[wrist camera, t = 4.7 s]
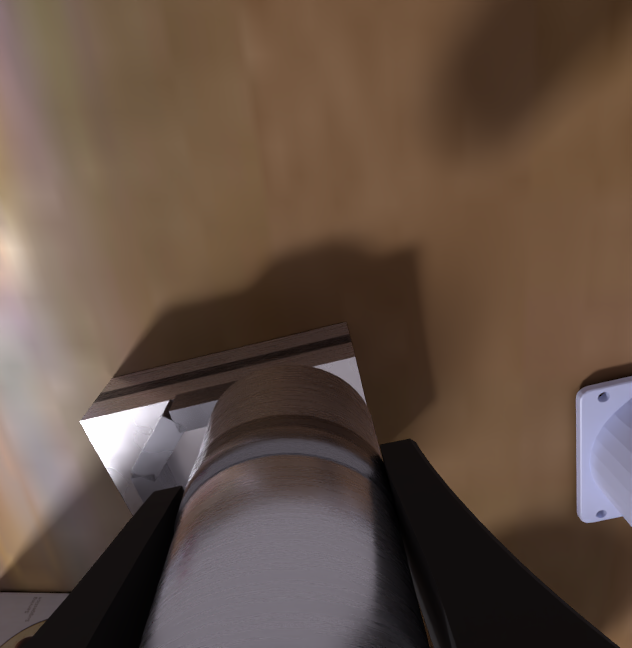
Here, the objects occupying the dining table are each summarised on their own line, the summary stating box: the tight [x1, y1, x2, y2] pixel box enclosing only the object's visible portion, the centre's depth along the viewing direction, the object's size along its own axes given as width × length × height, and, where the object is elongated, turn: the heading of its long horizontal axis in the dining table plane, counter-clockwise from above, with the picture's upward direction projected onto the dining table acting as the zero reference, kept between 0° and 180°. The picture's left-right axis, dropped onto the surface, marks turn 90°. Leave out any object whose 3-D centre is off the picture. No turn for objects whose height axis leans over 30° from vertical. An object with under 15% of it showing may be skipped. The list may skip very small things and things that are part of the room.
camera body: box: [80, 322, 366, 516], centre depth 18 cm, size 10×7×4 cm
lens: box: [139, 365, 430, 648], centre depth 8 cm, size 4×4×6 cm
